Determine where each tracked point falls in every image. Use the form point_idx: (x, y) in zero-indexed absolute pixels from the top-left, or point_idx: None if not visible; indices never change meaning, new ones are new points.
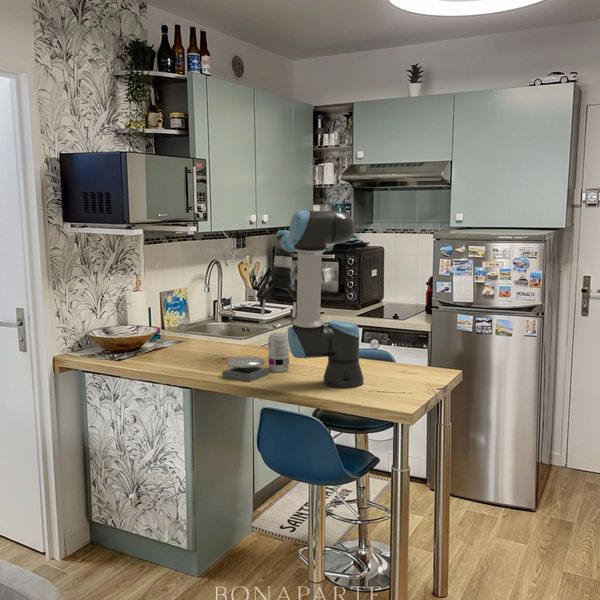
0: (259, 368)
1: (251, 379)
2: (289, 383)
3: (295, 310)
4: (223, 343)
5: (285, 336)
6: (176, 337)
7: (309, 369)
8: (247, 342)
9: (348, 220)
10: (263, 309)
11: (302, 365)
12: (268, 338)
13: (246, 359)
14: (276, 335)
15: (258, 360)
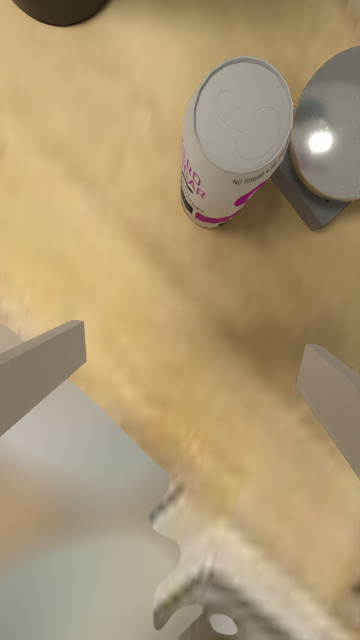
0: (288, 151)
1: None
2: (225, 8)
3: (36, 338)
4: (266, 544)
5: (211, 74)
6: (356, 628)
7: (118, 176)
8: (204, 540)
9: None
10: (338, 364)
11: (127, 235)
12: (289, 139)
13: (351, 145)
14: (260, 96)
15: (315, 110)
